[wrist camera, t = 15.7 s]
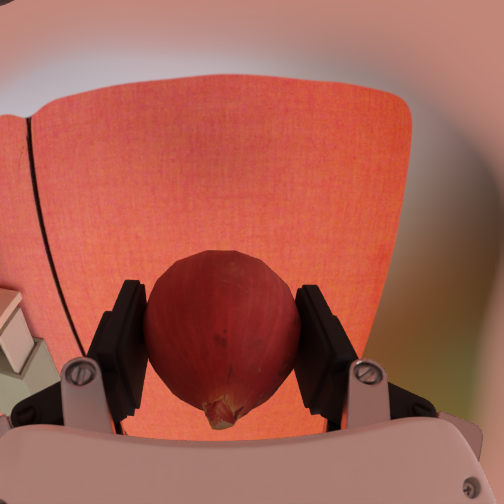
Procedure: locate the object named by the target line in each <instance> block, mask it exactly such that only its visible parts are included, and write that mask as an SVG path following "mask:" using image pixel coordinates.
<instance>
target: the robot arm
mask: <svg viewBox="0 0 504 504" xmlns="http://www.w3.org/2000/svg"><path fill="white" fill-rule="evenodd" d="M295 303H296V305H297V308H298V310H299V314H300V318H301V322H302V326H301V333H300V339H299V347H298V355H297V361H296V363H295V366H294V371H295V375H296V378H297V382H298V385H299V389H300V392H301V396H302V399H303V403H304V406H305V408H309V409H310V413H311V415H316V414H320V415H321V416H322V417H324V418H325V419H324V427H323V433H319V434H312V435H304V436H296V437H287V438H276V439H263V440H245V441H185V440H166V439H154V438H143V437H134V436H126V435H125V432H124V428H123V424H122V420H123V419H125V418H127V415H128V416H134V413H135V409H139V408H140V404H141V397H142V391H143V385H144V379H145V373H146V368H147V362H148V354H147V350H146V345H145V339H144V333H143V314H144V311H145V308H146V305H147V300H146V292H145V285H144V284H140V281H139V280H125V281H124V283H123V286H122V288H121V290H120V293H119V295H118V298H117V300H116V302H115V305H114V307H113V310H112V311H105V312H104V314H103V316H102V318H101V320H100V323H99V325H98V328H97V330H96V333H95V335H94V338H93V340H92V343H91V345H90V348H89V351H88V353H87V356H86V357H77V358H74V359H72V360H70V361H68V362H67V363H66V364H65V365H64V366H63V368H62V370H61V381H59V382H57V383H55V384H53V385H51V386H49V387H47V388H45V389H43V390H41V391H39V392H37V393H35V394H33V395H31V396H29V397H27V398H25V399H23V400H21V401H20V402H18V403H17V404H16V405H15V406H14V407H13V409H12V411H11V415H10V416H8V417H7V415H6V414H4V415H2V416H0V504H497V502H496V500H495V497H494V495H493V493H492V490H491V488H490V485H489V483H488V481H487V479H486V476H485V474H484V472H483V470H482V468H481V466H480V464H479V459H480V453H481V447H482V441H483V435H482V431H481V429H480V428H479V427H478V426H477V425H475V424H474V423H471V422H468V421H466V420H463V419H461V418H458V417H456V416H453V415H450V414H448V413H445V412H442V411H439V413H437V412H436V409H435V407H434V406H433V405H432V404H431V403H430V402H429V401H428V400H426V399H424V398H422V397H420V396H418V395H415V394H413V393H411V392H409V391H407V390H404V389H402V388H400V387H398V386H396V385H393V384H391V383H389V382H388V381H387V374H386V371H385V369H384V368H383V366H382V365H380V364H379V363H378V362H375V361H374V360H370V359H359V358H358V356H357V354H356V352H355V350H354V348H353V346H352V344H351V342H350V340H349V339H348V337H347V335H346V333H345V331H344V329H343V327H342V325H341V323H340V321H339V319H338V318H337V316H335V315H333V314H332V312H331V310H330V308H329V306H328V305H327V303H326V301H325V299H324V297H323V295H322V293H321V291H320V289H319V287H318V286H317V285H303V286H302V288H298V290H297V293H296V298H295Z"/></svg>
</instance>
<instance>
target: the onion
mask: <svg viewBox="0 0 504 504" xmlns="http://www.w3.org/2000/svg"><path fill="white" fill-rule="evenodd" d="M301 326H302V322H301V318H300V314H299V310H298V308H297V305H296V303H295V301H294V298H293V296H292V294H291V291H290V289H289V287H288V285H287V284H286V283H285V282H284V281H283V280H282V279H281V278H280V277H279V276H278V275H277V274H276V273H275V272H273V271H272V270H271V269H270V268H269V267H268V266H267V265H266V264H265V263H264V262H263V261H262V260H260V259H257V258H254V257H251V256H249V255H246V254H243V253H240V252H238V251H218V250H207V251H203V252H201V253H198V254H195V255H192V256H189V257H187V258H184V259H181V260H178V261H176V262H175V263H174V264H173V265H172V266H171V267H170V268H169V269H168V270H167V271H166V272H165V273H164V274H163V275H162V276H161V277H160V278H159V279H157V281H156V283H155V285H154V287H153V290H152V292H151V294H150V297H149V300H148V302H147V305H146V308H145V311H144V314H143V333H144V339H145V345H146V350H147V354H148V358H149V362H150V363H151V365H152V367H153V368H154V370H155V372H156V373H157V374H158V375H159V377H160V378H161V379H162V381H163V382H164V383H165V384H166V386H167V387H168V388H169V389H170V391H171V392H172V393H173V394H174V395H175V396H177V397H178V398H179V399H181V400H183V401H184V402H186V403H188V404H190V405H192V406H193V407H195V408H198V409H200V410H203V411H204V412H205V415H206V417H207V418H208V420H209V423H210V425H211V427H212V429H215V430H222V429H226V428H229V427H232V426H234V424H235V423H236V421H237V420H238V419H240V418H241V417H243V416H244V415H246V414H247V413H248V412H249V411H250V410H252V409H254V408H256V407H258V406H260V405H261V404H263V403H264V402H266V401H267V400H268V399H269V398H270V397H271V396H273V394H274V393H275V392H276V391H277V389H278V388H279V387H280V386H281V384H282V383H283V382H284V380H285V379H286V378H287V377H288V375H289V374H290V373H291V372H292V370H293V368H294V366H295V363H296V361H297V355H298V347H299V339H300V333H301Z"/></svg>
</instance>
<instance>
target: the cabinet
mask: <svg viewBox="0 0 504 504" xmlns="http://www.w3.org/2000/svg"><path fill="white" fill-rule="evenodd" d="M32 339H33V341H34V344H35V348H34V350H33V352H32V354H31V356H30V358H29V360H28V362H27V364H26V366H25V367H24V369H23V371H22V374H21V375H17V374H14V373H11V372H7V371H4V370H1V369H0V412H1V413H2V414H3V415H4V414H6V415H7V417H8V416H10V415H11V411H12V409H13V407H14V406H15V405H16V404H17V403H18V402H20V401H21V400H23V399H25V398H27V397H29V396H31V395H33V394H35V393H37V392H39V391H41V390H43V389H45V388H47V387H49V386H51V385H53V384H55V383H57V382H59V381H61V377H60V375H59V373H58V371H57V369H56V367H55V365H54V362H53V360H52V358H51V355H50V353H49V351H48V348H47V346H46V343H45V341H44V339H41V338H36V337H32Z"/></svg>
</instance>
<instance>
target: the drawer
mask: <svg viewBox="0 0 504 504" xmlns="http://www.w3.org/2000/svg"><path fill="white" fill-rule="evenodd" d="M21 300H22V296H21V293H20V291H14V290H7V289H1V288H0V369H1V370H4V371H7V372H11V373H14V374H17V375H21V374H22V371H23V369H24V367H25V366H26V364H27V362H28V360H29V358H30V356H31V354H32V352H33V350H34V348H35V344H34V341H33V339H32V336H31V334H30V332H29V329H28V326H27V324H26V321H25V319H24V316H23V313H22V310H21V308H20V307H16V306H17V305H18V304H19V302H20V301H21Z"/></svg>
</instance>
